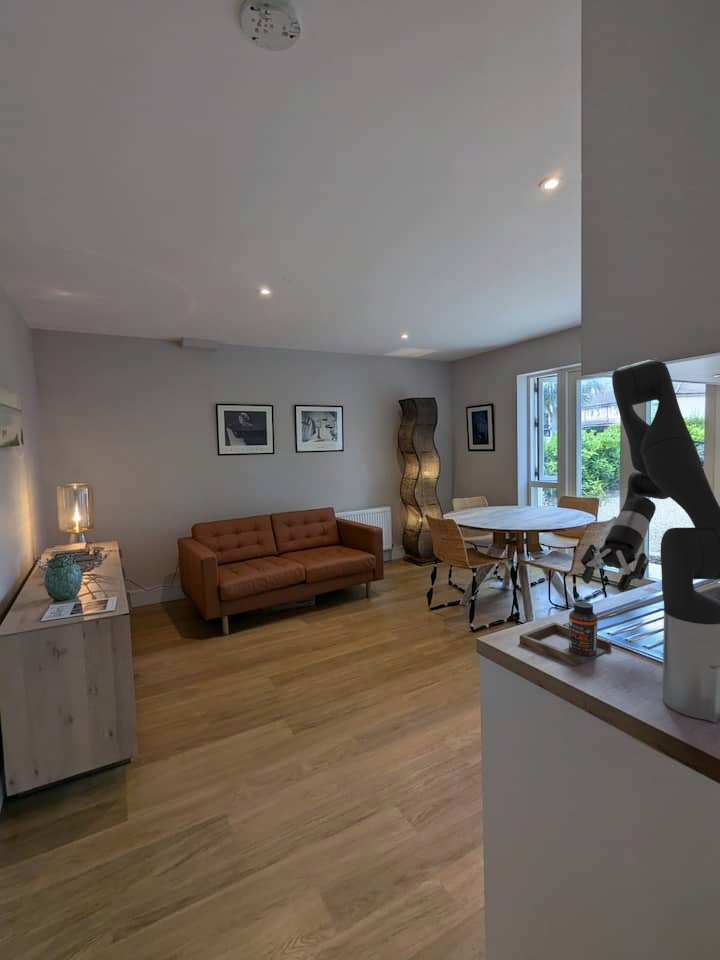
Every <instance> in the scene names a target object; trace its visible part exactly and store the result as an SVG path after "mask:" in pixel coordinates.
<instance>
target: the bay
mask: <svg viewBox="0 0 720 960" xmlns="http://www.w3.org/2000/svg"><path fill="white" fill-rule="evenodd" d="M553 633H558V634H561V635H564V636H565V637H566V636H567V637H568V638H569V626H567V625H563V624H560V623H557V622H551V623H549V624H546V625H544V626H540V627H538V628H536V629H535V628H534V629H532V630H530V631H528V632H525V633H521V634H520V635H519V644H521V645H523V646H525V647H528V648H531V649H532V650H536V651H538V652H540V653H543V654H544V655H547V656H549V657H552V658H554V659H557V660H560V661H562V662H564V663H567V664H569V665H572V666H574V667H576V668H577V667H579V666H580V663H579V656H576V655H574V654H571V653H569V652H566V651H564V649H561V648H558V647H555V646H552V645H550V644H548V643H546V642H542V641H540V640H538V639H542V638H543V637H546V636H548V635H551V634H553ZM597 647H598V648H601V649H604V650H607V652H610V651H612V641H611V640H607V639H604V638H601V637H598V636H597Z"/></svg>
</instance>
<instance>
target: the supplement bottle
mask: <svg viewBox="0 0 720 960" xmlns="http://www.w3.org/2000/svg"><path fill="white" fill-rule="evenodd" d="M568 616H569V617H568V620H569V621H568V627H569V637H568V648H569V649H570V650H571V651H572V652H574V653H576V654H578V655H583V656H591V655H594V654H596V652H597V637H598V616H597V614H596V613H594V605H593V604H592V603H590V602H587V601H575V602H574V603H573V610H571V611H570V612H569V615H568Z"/></svg>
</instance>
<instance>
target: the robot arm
mask: <svg viewBox="0 0 720 960" xmlns="http://www.w3.org/2000/svg"><path fill="white" fill-rule="evenodd" d="M611 381H612V382H611V385H612V390H613V394H614V398H615V402H616V406H617V409H618V413H619V416H620V419H621V423H622V426H623V429H624V431H625V432H624V433H625V434H626V437H627V440H628V446H629V451H630V459H631V464H632V467H633V469H634V471H632V472H631V473H630V475H629V476H628V479H627V492H626V497H625V501H624V503H623V506H622V508H621V510H620V512H619V514H618V515H617V517H616V518H615V520H614V521H613V524H612V525H611V528H610V530H609V532H608V534H607V536H606V538H605V541H604V545H602V546H601V547H596V546H595V545H594V544H590V545H588V548H587V549H586V551H585V553H584V554H583V555H582V556H583V557H582V558H581V559H580V563H581V564H582V566H583V567H584V568H585V569H584V571H583V572H582V575H581V578H582V581H583V582H584V583H585V584H587V585H589V584H590V582H591V580H592V578H593V577H594V576H593V575H594V573H595V572H596V570H599V569H603V568H605V567H608V568H615V569H618V570H620V569H623V572H624V573H623V574H622V575H621V578H620V580H619V581H618V584H617V590H618V591H619V592H620V593H625V591H627V590H628V589H629V587H630V584H631V583H632V581H633V580H636V579H637V580H639V581H640V580H643V578H644V576H645V574H646V570H647V568H648V565H649V562H650V560H649V558H648V556H647V555H646V553H645V552H641V553H640V554H638V553H639V550H640V548H641V546H642V543H643V541H644V539H645V538H646V535H647V533H648V530H649V526H650V523H651V521H652V519H653V517H654V514H655V513H656V509H657V507H656V504H655V503H654V501H652V500H651V499H656V500H657V499H658V500H666V499H669V498H670V499H671V500H672V501H673V502H675V503H676V504H677V505H679V506H680V507H681V509H683V511H684V512H685V513H686V515H688V517H689V519H690V520H691V522H692V524H693V527H670V528H668V529H667V530H665V531H664V533H663V534H662V537H661V541H660V566H661V567H660V569H661V570H660V571H661V592H662V598H663V637H662V638H663V641H662V642H663V645H662V646H663V648H662V686H661V687H662V688H661V690H662V701H663V702H664V704H665V705H666V706H668V707H669V708H670V709H672V710H674V711H675V712H677V713H679V714H682V715H685V716H687V717H690V718H695V719H700V720H705V721H710V722H711V723H713V724H714V723H717V722H718V721H719V720H720V599H718V598H716V597H713V596H711V595H708V594H704V593H702V592H700V591H696V590H695V587H694V580H720V505H719V503H718V501H717V498H716V497H715V494H714V492H713V490H712V488H711V485H710V483H709V480H708V478H707V475H706V472H705V470H704V467H703V465H702V462H701V458H700V454H699V453H698V450H697V448H696V447H697V446H696V445H695V443H694V440H693V437H692V436H691V434H690V433H691V432H690V431H689V428H688V426H687V424H686V421H685V419H684V416H683V414H682V411H681V409H680V405H679V402H678V399H677V395H676V391H675V389H674V388H675V387H674V384H673V381H672V378H671V374H670V370H669V369H668V366H667V364H666V363H665V362H664V363H662V362H658V361H655V360H650V359H647V360H643V361H639V362H636V363H632V364H630V365H629V364H628V365H625V366H622V367H619V368H616V369H614V371H613V372H612V376H611ZM653 401H657V403H658V404H657V409H656V412H655V415H654V417H653V419H652V421H651V423H650V424H648V423H647V422H646V421H645V420H644V419H642V417H640V416H639V415H638V413H636V411H635V409H634V407H633V406H634V405H639V404H643V403H649V402H653ZM649 498H650V499H649ZM601 560H602V561H601ZM635 561H636V564H635V567H634V570H632V569H631V566H630V564H631V563H633V562H635Z"/></svg>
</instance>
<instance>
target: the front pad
mask: <svg viewBox="0 0 720 960" xmlns="http://www.w3.org/2000/svg"><path fill="white" fill-rule="evenodd" d="M563 650H564V651H566V652H569V653H571V654H574V655H576V656H579V665H580V664H581V665H582V664H583V665H584V664H585V663H587V662H589V661H591V660H593V659H595V658H598V657H600V656H602V655H603V654H606V653H607V652H608V651H607V650H605V649H602V648H599V647H597V652H596V654H594V655H591V656H583V655H578V654H576V653H574V652H572V651H571V650H570V649H569V647H567V648H565V649H563Z"/></svg>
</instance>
